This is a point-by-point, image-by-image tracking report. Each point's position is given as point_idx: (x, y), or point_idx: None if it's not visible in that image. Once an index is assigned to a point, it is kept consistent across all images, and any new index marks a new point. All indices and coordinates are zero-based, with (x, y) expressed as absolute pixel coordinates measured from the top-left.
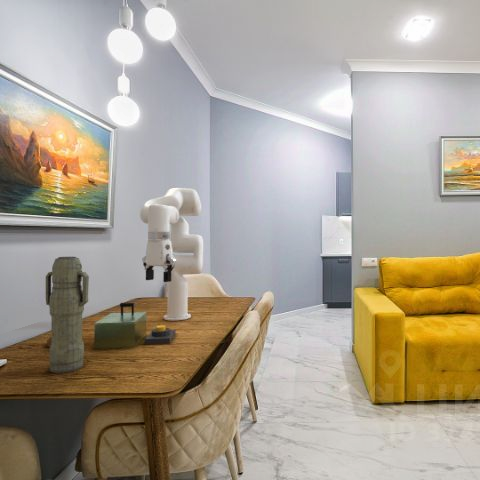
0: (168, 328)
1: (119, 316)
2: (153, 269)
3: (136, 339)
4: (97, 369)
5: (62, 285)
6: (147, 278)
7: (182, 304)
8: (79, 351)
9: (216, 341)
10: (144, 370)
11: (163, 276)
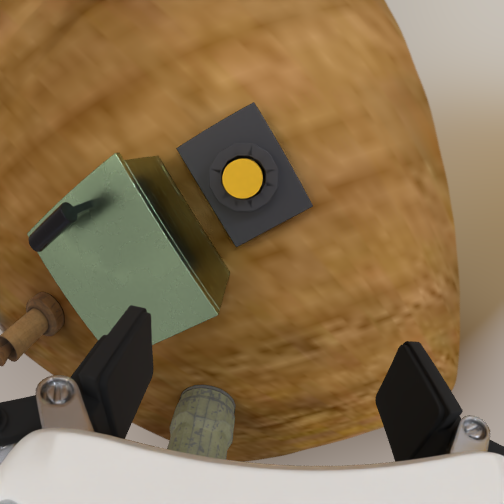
0: (259, 150)
1: (91, 266)
2: (91, 379)
3: (217, 265)
4: (274, 397)
5: None
6: (148, 381)
7: None
8: (232, 429)
9: (435, 135)
10: (372, 372)
11: (387, 434)
